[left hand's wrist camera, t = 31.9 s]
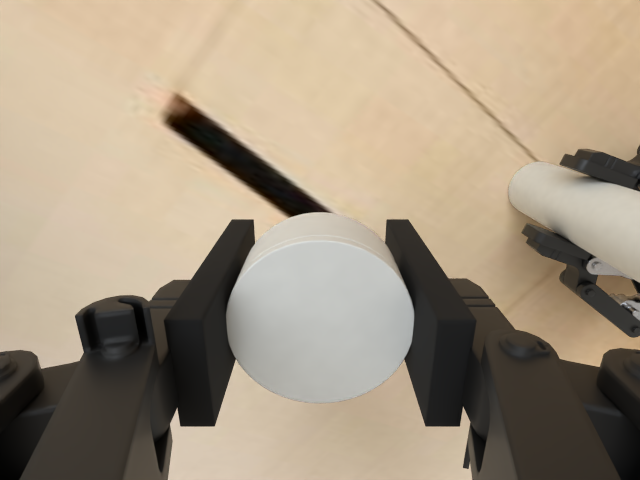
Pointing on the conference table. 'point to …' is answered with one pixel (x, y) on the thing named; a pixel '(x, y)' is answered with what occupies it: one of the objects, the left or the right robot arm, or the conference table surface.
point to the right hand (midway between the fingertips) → (550, 197)
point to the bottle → (582, 212)
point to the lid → (320, 310)
